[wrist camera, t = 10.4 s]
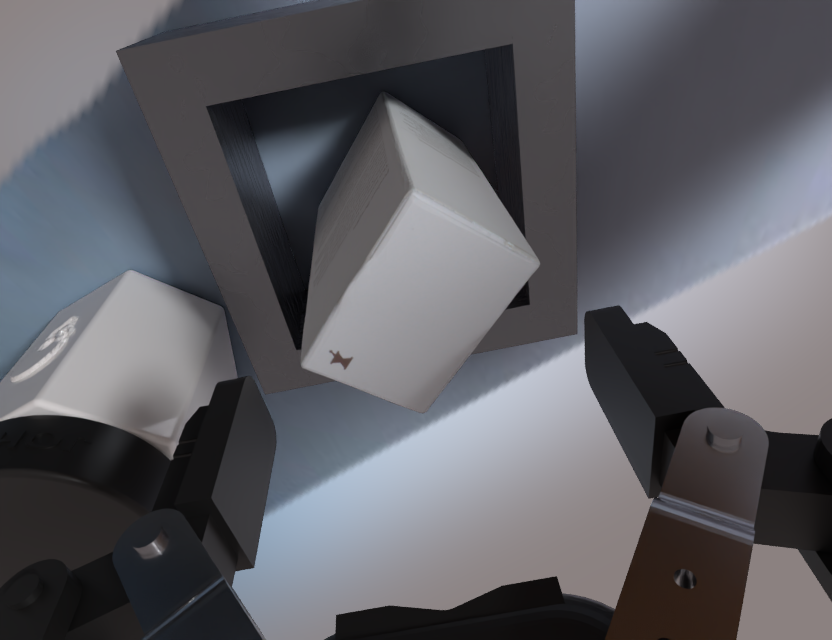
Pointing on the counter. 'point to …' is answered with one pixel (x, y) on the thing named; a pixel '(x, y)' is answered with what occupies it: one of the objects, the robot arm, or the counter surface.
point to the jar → (101, 416)
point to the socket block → (340, 58)
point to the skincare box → (408, 261)
